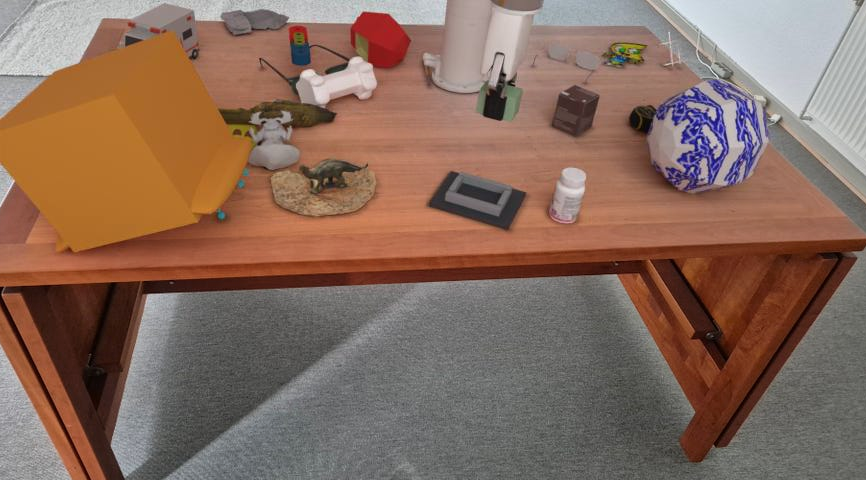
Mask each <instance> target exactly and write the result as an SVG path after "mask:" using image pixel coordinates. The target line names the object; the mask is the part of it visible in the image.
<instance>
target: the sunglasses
mask: <svg viewBox="0 0 866 480" xmlns="http://www.w3.org/2000/svg"><path fill="white" fill-rule="evenodd" d="M309 47H310V49H311V48H313V47H317V48H320V49H322V50H324V51H327V52H329V53H331V54H333V55H335V56H337V57H339V58H341V59H342V60H344V61H346V62H344V63H340V64H337V65H334V66H333V65H332V66H331V67H329V68H327V69H325V70H323V71H321V72H320V71H319V72H316V71H315V73H316V74H318V75H322V74H324V75H328V74H332V73H336V72H339V71H343V70H345V69H346V68H347V66H348V63H349V60H350V59H351V58H348V57H347V56H345V55H343V54H340V53H339V52H336V51H335V50H332V49H330V48H328V47H325V46H322V45H319V44H311V45H309ZM258 61H259V64H260V67H261V69H264V66H263V63H265V64H266V65H267V66H268V67H269V68H271V69H272V70H273V71H274V72H275V73H276V74H277V75H278V76H279V77H281V78H282V79H283V80H284V81H285V82H286V83H287V84H288V85H289V87H291V92H292V94H294V95H295V96H297V97H300V96H299V93H298V90H297V89H296V83H297V82H298V81H299V79H300V74H299V75H295V76H292V77H286V76H285V75H284V74H282V73H281V72H280V71H279V70H278V69H276V67H274V66H273V65H271V63H269V62H268V61H267V60H265V59H264V58H262V57H259V59H258ZM262 62H263V63H262Z"/></svg>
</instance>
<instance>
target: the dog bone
mask: <svg viewBox="0 0 866 480" xmlns="http://www.w3.org/2000/svg"><path fill="white" fill-rule="evenodd" d="M349 59H350V60H349V63H348V66H347V68H346V69H345V70H343V71H339V72H336V73H332V74H328V75H326V74H324V75H320V74H316V73H315V72H316V71H315V69H312V68H308V69H304V70H303V71H302V72H301V73H300V74H299V75H300V79H299V81H298V82H297V83H296V89H297V90H298V93H299V96H298V97H299V99H300V103H308V104H312V105H316V106H319V107H322V108H325V109H327V108H326V107H327V104H328V103H329V102H330V101H332V100H334V99H338V98H342V97H345V96H348V95H350V94H351V95H352V94H353V95H355V96H356V97H357V98H358V99H359V100H360V101H363V100H364V101H365V100H367V99H369V98H371V97H372V95H373V91H374V90H375V89H376V88H377V87H378V81H377V79H376V75H375V73H374V66H373V65H372V64H371V63H367V62H365V61H364V60H363V59H362V57H360V55H357V56H353V57H352V58H349Z"/></svg>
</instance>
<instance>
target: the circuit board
mask: <svg viewBox="0 0 866 480" xmlns="http://www.w3.org/2000/svg"><path fill="white" fill-rule="evenodd" d="M276 101H278V102H282V101H291V102H295V100H289V99H279V98H276V99H273V100H272V101H271V102H276Z"/></svg>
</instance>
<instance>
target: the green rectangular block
mask: <svg viewBox="0 0 866 480" xmlns="http://www.w3.org/2000/svg"><path fill="white" fill-rule="evenodd" d="M488 82H489V79H488V80H487V81H486V82H485V83H484V85H483V86H482V87H481V89H480V90H479V91H478V97H477V103H476V108H475V114H479V115H482V116H483V110H484V104H485V98H486V93H487V86H488ZM499 85H501V86H503V84H501V83H499ZM523 91H524V88H522V87H517V86H515V87H513V86H509V85H508V86H507V90H506V95H505V96H506V97H507V100H506V106H505V111H504V116H503V119H502V121H506V122H509V123H513V121H514V120H515V117H516V116H517V115H518V113H519V111H520V106H521V102H522V96H523Z"/></svg>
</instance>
